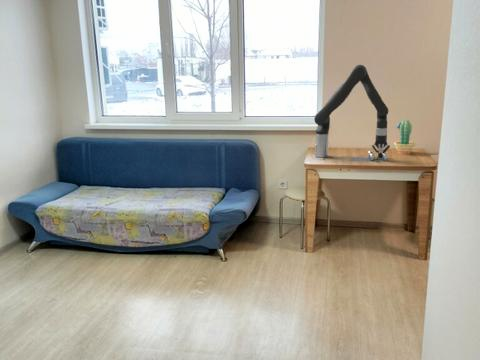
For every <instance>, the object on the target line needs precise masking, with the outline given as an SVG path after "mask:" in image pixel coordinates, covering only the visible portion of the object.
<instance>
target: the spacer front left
mask: <svg viewBox="0 0 480 360" xmlns="http://www.w3.org/2000/svg"><path fill="white" fill-rule="evenodd" d="M374 156H376V155H375V153H374V152H373V153H371V154H370V161H369V162H375V161H374Z"/></svg>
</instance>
